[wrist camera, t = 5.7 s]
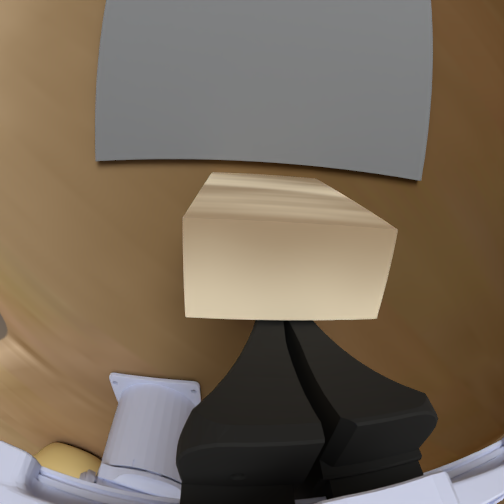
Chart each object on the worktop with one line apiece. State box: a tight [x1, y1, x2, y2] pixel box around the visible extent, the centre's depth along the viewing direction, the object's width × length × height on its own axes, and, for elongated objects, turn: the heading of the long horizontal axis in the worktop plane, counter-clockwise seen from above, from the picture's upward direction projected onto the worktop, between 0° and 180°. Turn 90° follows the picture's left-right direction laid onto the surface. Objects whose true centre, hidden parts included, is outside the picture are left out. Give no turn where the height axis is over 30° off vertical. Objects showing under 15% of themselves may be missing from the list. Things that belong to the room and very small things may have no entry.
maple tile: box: [183, 172, 398, 320], centre depth 13 cm, size 3×6×10 cm, turn 86°
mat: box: [95, 0, 433, 181], centre depth 14 cm, size 16×20×1 cm
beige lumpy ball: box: [33, 442, 101, 479], centre depth 26 cm, size 12×12×11 cm
